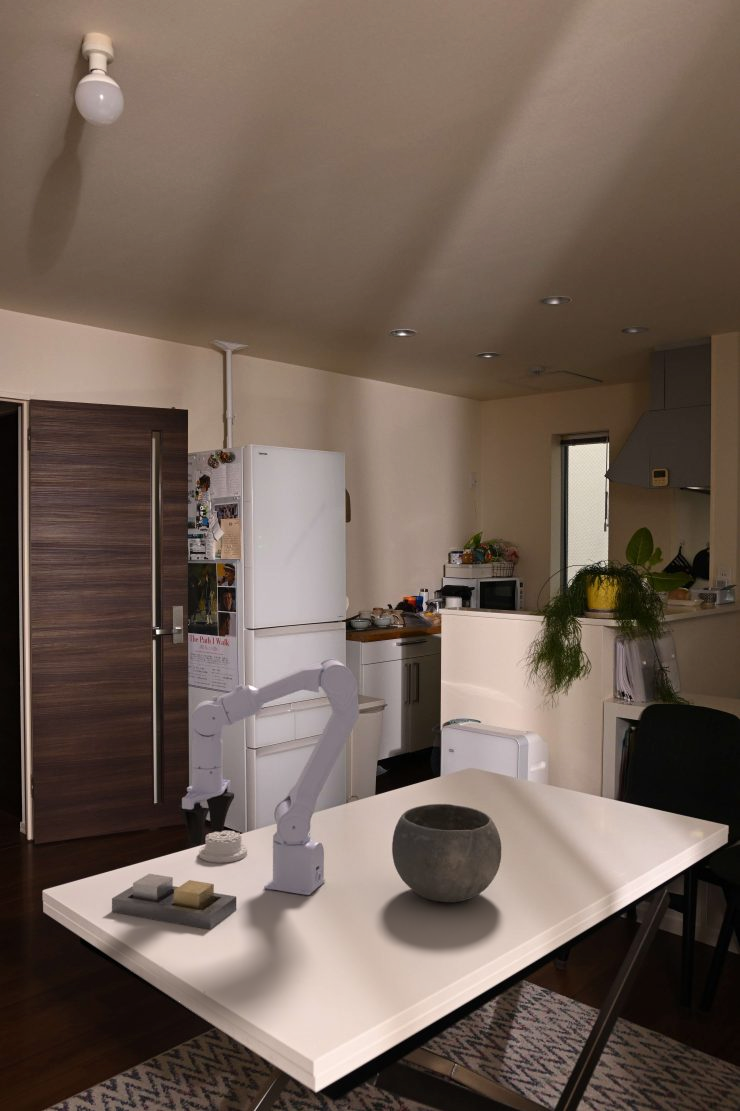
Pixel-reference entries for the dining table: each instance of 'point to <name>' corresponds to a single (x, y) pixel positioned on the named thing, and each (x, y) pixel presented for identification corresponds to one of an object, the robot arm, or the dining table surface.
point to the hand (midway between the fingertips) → (206, 837)
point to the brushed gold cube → (194, 895)
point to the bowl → (446, 851)
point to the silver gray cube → (153, 888)
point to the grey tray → (175, 909)
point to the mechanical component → (223, 847)
